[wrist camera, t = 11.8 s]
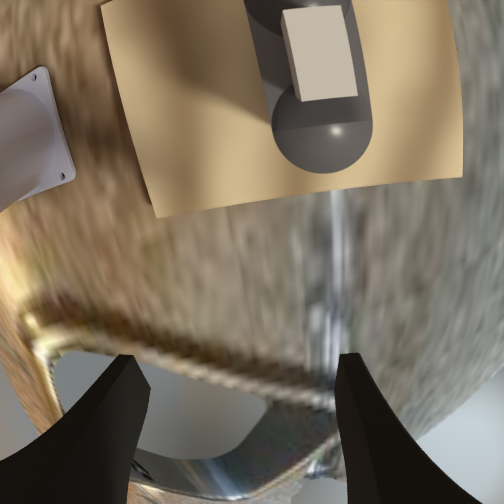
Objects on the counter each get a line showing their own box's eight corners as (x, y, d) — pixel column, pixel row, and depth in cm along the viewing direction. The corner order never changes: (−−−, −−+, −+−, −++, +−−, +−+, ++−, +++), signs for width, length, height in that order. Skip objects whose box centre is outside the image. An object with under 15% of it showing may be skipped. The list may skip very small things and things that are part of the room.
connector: (277, 142, 15) (283, 204, 8) (247, 0, 11) (223, -65, 5) (340, 134, 15) (397, 188, 8) (313, -8, 11) (350, -76, 4)
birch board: (163, 210, 19) (156, 218, 18) (110, 8, 12) (100, 5, 11) (452, 170, 16) (462, 177, 15) (426, -34, 10) (435, -39, 9)
